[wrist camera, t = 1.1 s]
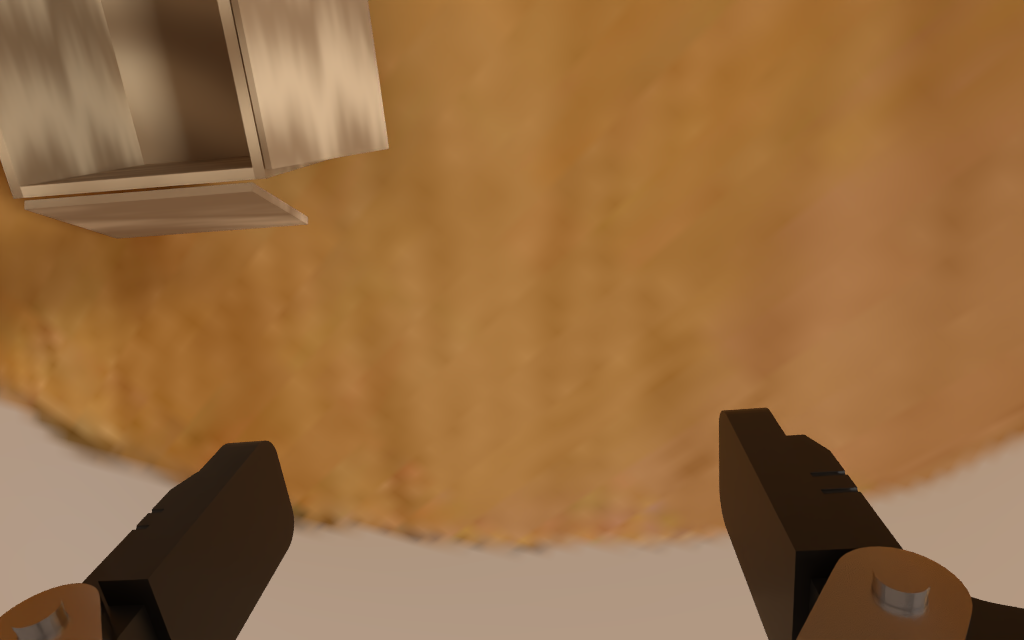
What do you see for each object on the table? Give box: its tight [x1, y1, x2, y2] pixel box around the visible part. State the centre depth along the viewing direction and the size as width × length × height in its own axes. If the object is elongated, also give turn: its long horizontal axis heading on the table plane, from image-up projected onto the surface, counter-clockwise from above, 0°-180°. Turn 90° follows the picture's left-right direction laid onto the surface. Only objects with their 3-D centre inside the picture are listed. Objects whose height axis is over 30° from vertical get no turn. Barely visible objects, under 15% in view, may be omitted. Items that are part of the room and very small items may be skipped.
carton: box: [0, 0, 389, 238], centre depth 31 cm, size 20×16×10 cm
